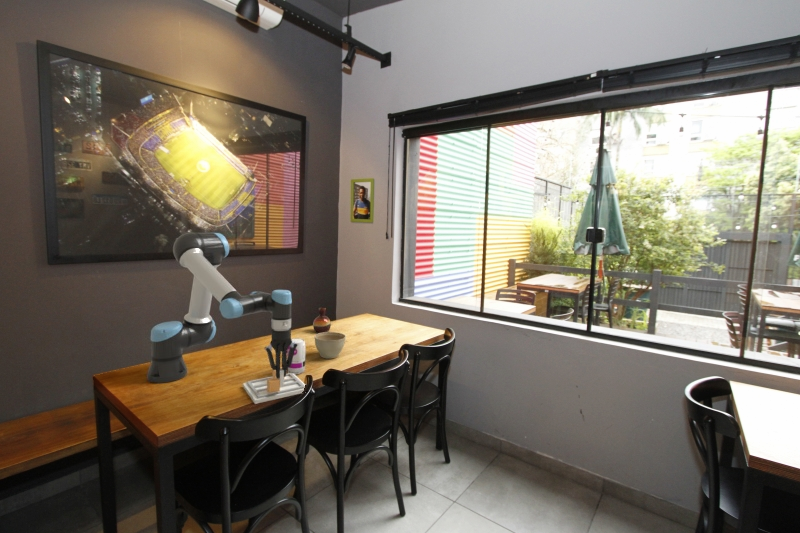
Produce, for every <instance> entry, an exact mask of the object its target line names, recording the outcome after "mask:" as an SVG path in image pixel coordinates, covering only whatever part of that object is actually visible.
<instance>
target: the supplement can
mask: <svg viewBox="0 0 800 533" xmlns="http://www.w3.org/2000/svg"><path fill="white" fill-rule="evenodd" d="M291 340H292V342H293V343H294V342H295V343H296V344H297V347H296V349H295V351H294V355H293V359H292V363H291V367H288V368H287V370H286V373H292V374H293V373H294V374H295V375H301V374H303V373H304V372H305V371H306V341H305V339H304V338H291ZM289 350H290V346H289V348H288V349H287V358H288V354H289Z"/></svg>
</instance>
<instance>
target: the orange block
mask: <svg viewBox="0 0 800 533" xmlns="http://www.w3.org/2000/svg"><path fill="white" fill-rule="evenodd" d="M280 368H282V366H280ZM272 376H273V378H276V370H273V369H272Z"/></svg>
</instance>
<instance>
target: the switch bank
mask: <svg viewBox="0 0 800 533" xmlns="http://www.w3.org/2000/svg"><path fill="white" fill-rule="evenodd" d="M271 378H273V375H272V376H267V377H263V378H258V379H253V380H248V381H246V382H244V383H242V388H243V389H244V390H245V392H246V394H248V396H249V398H250V399H251V401H252V402H253V404H255V405H256V404H260V403H265V402H270V401H274V400H278V399H282V398H287V397H292V396H295V395H300V394H303V393H302V392H303V391H304V388H305V385H306V383H304V382H303V380H301V378H299V377H298V376H297V374H294V373H293V374H292V373H288V372H286V377H284V386H280V391H277V392H272V393H268V391H267V379H271Z"/></svg>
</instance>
